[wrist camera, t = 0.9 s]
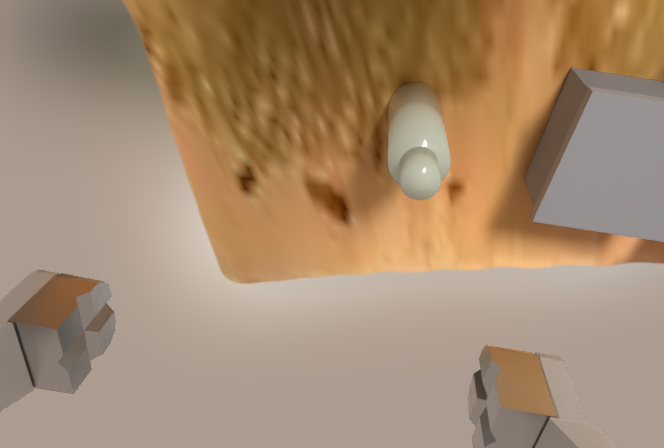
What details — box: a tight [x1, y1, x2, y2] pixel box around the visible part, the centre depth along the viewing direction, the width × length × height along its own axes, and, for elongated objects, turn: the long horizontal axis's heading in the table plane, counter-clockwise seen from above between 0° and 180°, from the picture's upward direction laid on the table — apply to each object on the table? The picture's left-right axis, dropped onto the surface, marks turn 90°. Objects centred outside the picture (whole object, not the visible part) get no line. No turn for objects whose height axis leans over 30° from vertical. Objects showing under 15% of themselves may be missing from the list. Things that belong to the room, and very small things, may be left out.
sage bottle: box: [388, 82, 451, 200], centre depth 43 cm, size 5×5×14 cm
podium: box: [524, 68, 664, 242], centre depth 46 cm, size 13×13×7 cm
